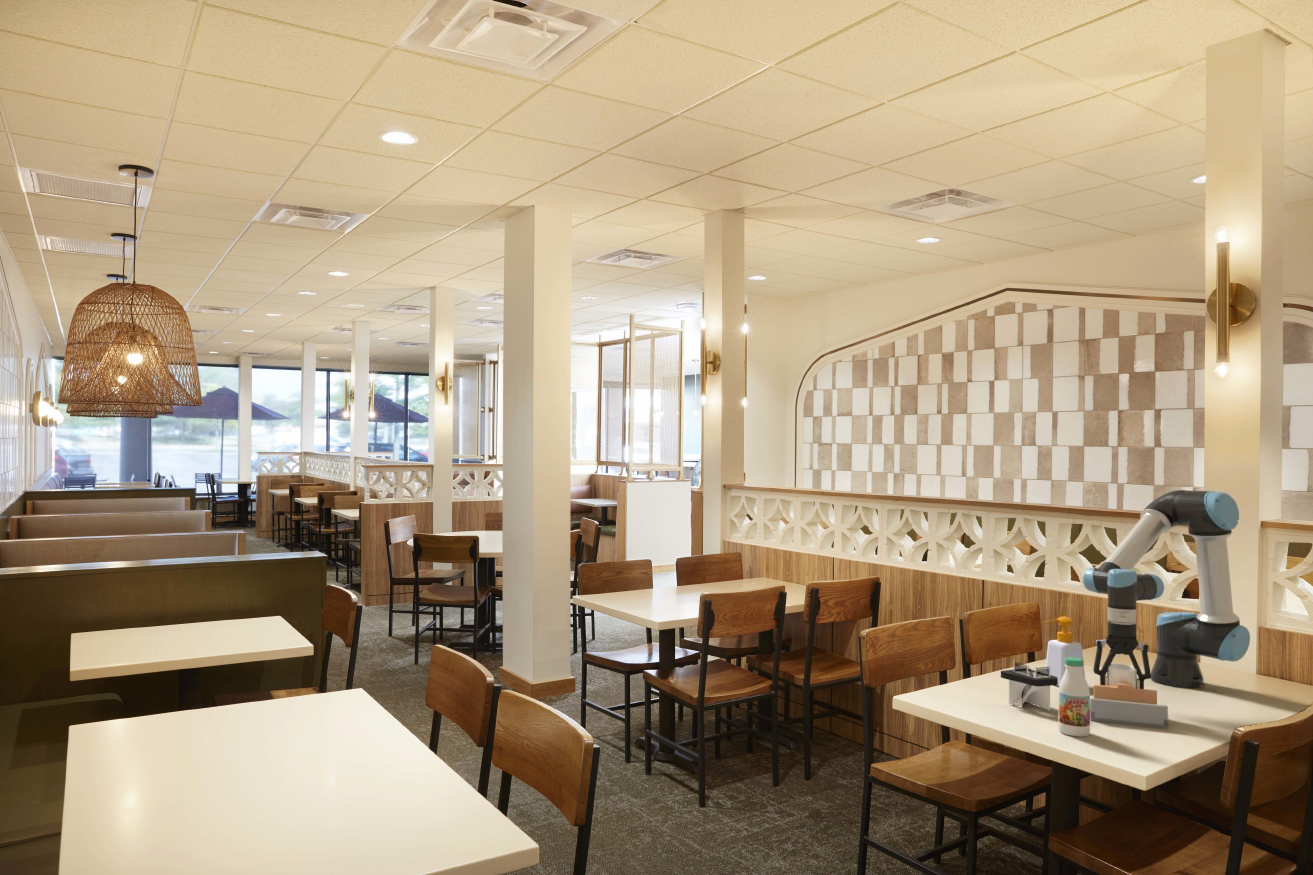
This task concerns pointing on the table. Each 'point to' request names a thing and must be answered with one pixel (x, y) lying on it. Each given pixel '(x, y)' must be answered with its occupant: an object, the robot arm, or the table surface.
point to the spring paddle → (1125, 693)
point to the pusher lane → (1129, 713)
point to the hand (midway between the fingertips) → (1121, 699)
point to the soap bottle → (1062, 649)
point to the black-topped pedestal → (1029, 685)
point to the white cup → (1121, 674)
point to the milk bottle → (1074, 700)
